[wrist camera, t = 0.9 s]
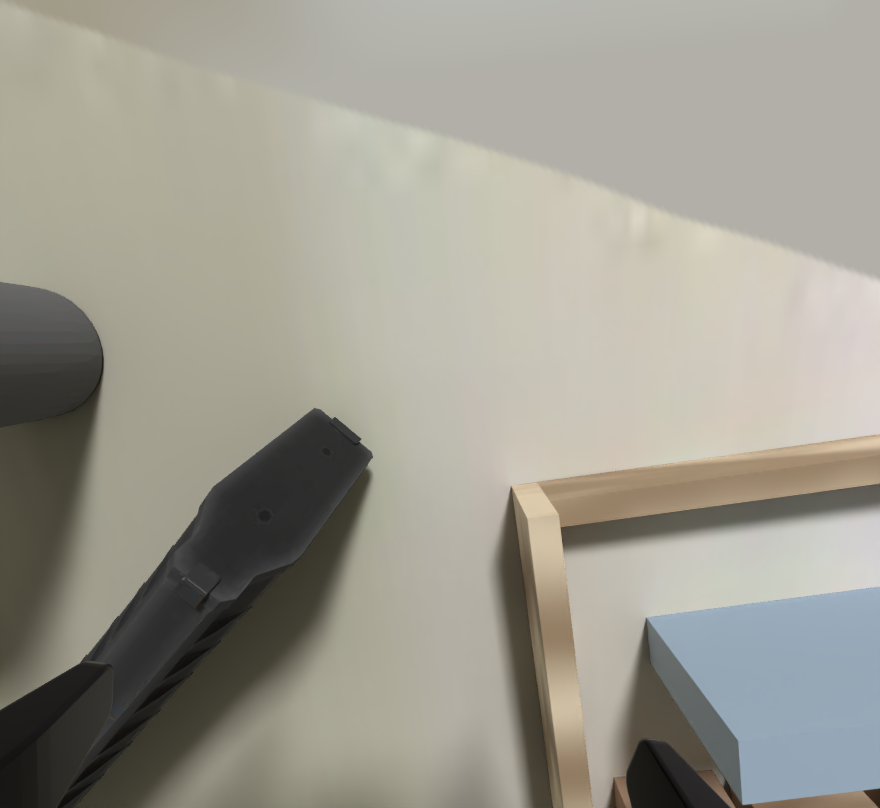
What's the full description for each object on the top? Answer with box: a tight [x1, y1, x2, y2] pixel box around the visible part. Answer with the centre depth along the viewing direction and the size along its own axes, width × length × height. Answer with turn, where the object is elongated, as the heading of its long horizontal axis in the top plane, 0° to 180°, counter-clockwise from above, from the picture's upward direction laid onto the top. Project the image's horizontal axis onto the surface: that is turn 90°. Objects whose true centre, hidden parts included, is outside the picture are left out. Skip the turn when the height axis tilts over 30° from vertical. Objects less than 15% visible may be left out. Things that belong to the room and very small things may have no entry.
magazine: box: [57, 408, 373, 808], centre depth 17 cm, size 17×3×30 cm
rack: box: [511, 435, 880, 808], centre depth 20 cm, size 22×23×4 cm
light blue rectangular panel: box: [646, 587, 880, 805], centre depth 19 cm, size 2×12×7 cm, turn 99°
